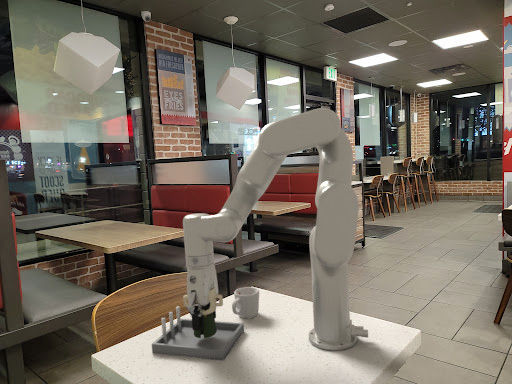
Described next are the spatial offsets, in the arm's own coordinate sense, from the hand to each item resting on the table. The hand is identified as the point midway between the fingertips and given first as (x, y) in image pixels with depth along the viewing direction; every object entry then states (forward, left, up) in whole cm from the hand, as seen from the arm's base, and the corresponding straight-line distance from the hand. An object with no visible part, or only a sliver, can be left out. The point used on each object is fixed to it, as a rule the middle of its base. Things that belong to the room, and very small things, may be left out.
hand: (204, 323), depth 101 cm
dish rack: (+2, 0, -5) cm, 6 cm away
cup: (-5, -18, -6) cm, 20 cm away
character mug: (0, 0, -3) cm, 3 cm away
